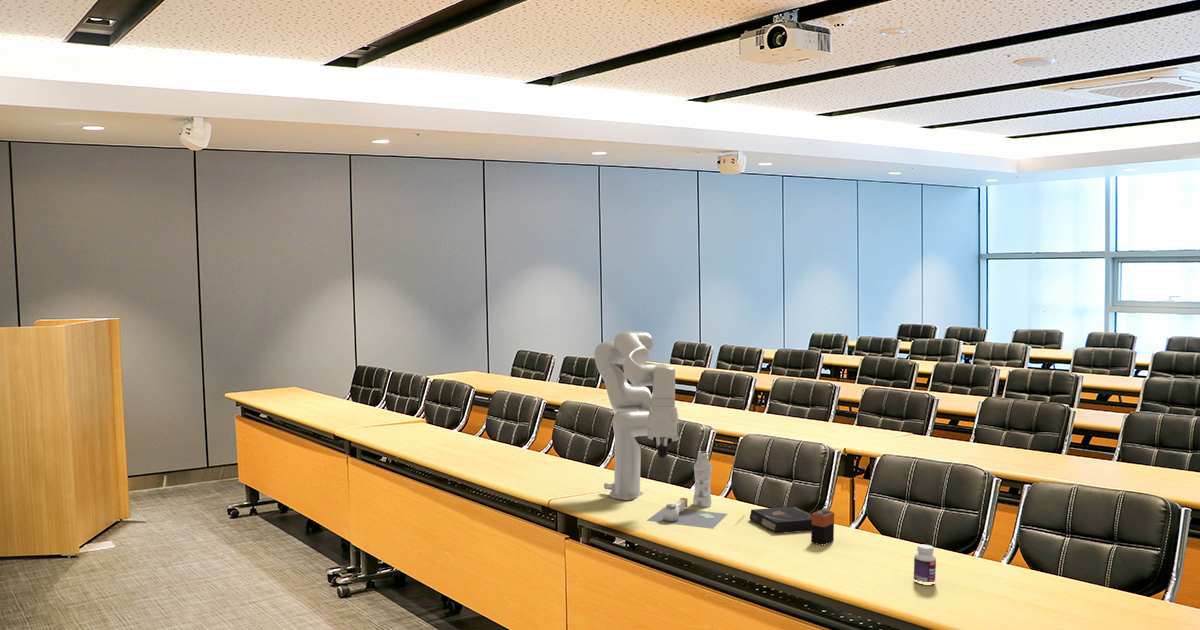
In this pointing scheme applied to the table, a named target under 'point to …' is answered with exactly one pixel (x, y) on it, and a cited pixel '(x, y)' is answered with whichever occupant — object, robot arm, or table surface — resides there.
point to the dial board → (692, 518)
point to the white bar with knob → (674, 510)
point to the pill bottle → (925, 564)
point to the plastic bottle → (702, 480)
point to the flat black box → (782, 519)
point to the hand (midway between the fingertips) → (662, 457)
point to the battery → (822, 527)
